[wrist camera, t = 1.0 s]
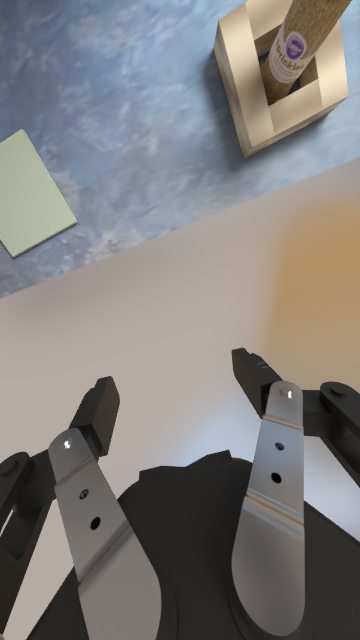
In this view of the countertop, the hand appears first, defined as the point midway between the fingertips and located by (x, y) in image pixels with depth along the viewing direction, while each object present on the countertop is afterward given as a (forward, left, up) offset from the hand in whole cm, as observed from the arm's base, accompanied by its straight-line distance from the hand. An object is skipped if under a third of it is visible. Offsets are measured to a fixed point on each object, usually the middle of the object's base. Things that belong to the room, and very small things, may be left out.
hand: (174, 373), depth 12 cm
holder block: (-20, +23, -22) cm, 38 cm away
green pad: (-23, -15, -22) cm, 35 cm away
